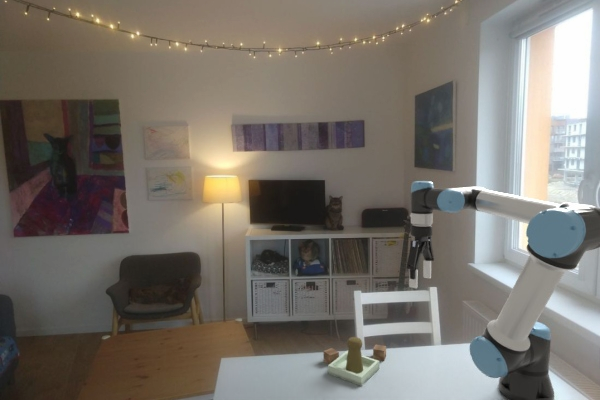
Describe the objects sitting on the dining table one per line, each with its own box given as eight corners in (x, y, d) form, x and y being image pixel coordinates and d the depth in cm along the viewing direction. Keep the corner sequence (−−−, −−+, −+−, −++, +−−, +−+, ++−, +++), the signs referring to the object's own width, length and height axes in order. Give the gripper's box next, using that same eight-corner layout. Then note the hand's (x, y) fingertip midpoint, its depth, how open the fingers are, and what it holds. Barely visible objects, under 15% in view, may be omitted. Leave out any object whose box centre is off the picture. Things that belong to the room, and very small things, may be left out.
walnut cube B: (338, 362, 147) (338, 352, 146) (330, 365, 145) (330, 355, 144) (332, 358, 150) (332, 348, 150) (323, 361, 148) (323, 350, 148)
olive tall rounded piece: (363, 374, 137) (363, 343, 136) (345, 372, 138) (345, 341, 137) (363, 365, 143) (363, 335, 142) (346, 363, 144) (346, 334, 143)
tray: (379, 369, 142) (379, 360, 142) (361, 386, 132) (361, 377, 131) (347, 358, 150) (347, 350, 149) (328, 373, 139) (328, 365, 139)
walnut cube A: (386, 356, 151) (386, 346, 151) (383, 361, 147) (384, 350, 147) (375, 354, 153) (375, 344, 152) (373, 359, 149) (373, 349, 149)
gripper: (423, 219, 156) (422, 272, 158) (397, 228, 136) (396, 289, 138) (443, 220, 151) (442, 275, 154) (418, 231, 132) (417, 294, 134)
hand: (420, 282), depth 146 cm, fingers open, 13 cm apart
